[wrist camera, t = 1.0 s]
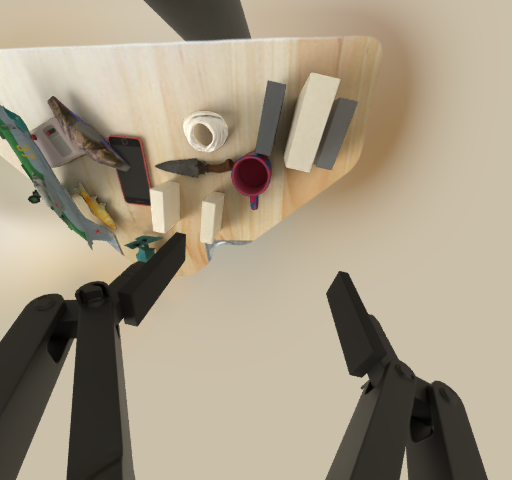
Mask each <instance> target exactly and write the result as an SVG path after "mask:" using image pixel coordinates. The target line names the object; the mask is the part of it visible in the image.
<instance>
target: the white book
mask: <svg viewBox="0 0 512 480" xmlns="http://www.w3.org/2000/svg"><path fill="white" fill-rule="evenodd" d="M339 83H340V79H339V78H334V77H330V76H326V75H322V74H317V73H313V72H311V74H310V75H309V77H308V79H307V81H306V83H305V85H304V87H303V89H302V90H301V92H300V94H299V96H298V98H297V102H296V106H295V110H294V114H293V118H292V122H291V126H290V130H289V134H288V138H287V142H286V146H285V150H284V154H283V155H284V160H285V165H286V167H287V168H291V169H295V170H300V171H304V172H308V173H310V170H311V167H312V164H313V161H314V158H315V155H316V152H317V149H318V146H319V143H320V140H321V137H322V134H323V131H324V128H325V125H326V122H327V119H328V116H329V113H330V110H331V107H332V104H333V101H334V98H335V95H336V92H337V89H338V86H339Z"/></svg>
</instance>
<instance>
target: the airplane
mask: <svg viewBox="0 0 512 480" xmlns="http://www.w3.org/2000/svg"><path fill="white" fill-rule="evenodd" d="M0 136H1V138H2V139H6V140H7V141H8V143H9V144H10V146H11V147H12V149H13V150H14V152H15V153H16V155H17V157H18V158H19V160H20V161H21V163H22V165H21V166H22V167H23V169H24V170H25V171H26V173H27V174H28V176H29V177H30V179H31V180H32V182H33V183H34V187H35V188H36V190H35V191H34V192H33V195H32V196H30V197H29V198H28V200H29V201H30V202H31V203H38V202H40V197H42V199H43V200H44V202H45V203H46V205H47V206H48V207H51V209H52V210H54V211H55V212H56V213H57V215H58V216H59V217H60V218H61V219H62V220H63V221H64V222H65V223H66V224H67V225H68V227H69V228H70V229H71V230H74V231H75V232H76V233H77V234H79V235H80V236H81V237H83V238H84V239H85V240H86V241H88V244H89V246H90V248H91V249H92V244H93V242H92V240H103V241H111V240H112V239H113V238H114V235H115V234H113V233H111V232H109V231H108V230H106V229H104V228H102V227H101V226H99V225H97V224H95V223H94V222H92V221H90V220H88V219H87V218H85V217H84V216H83V214H82V213H81V212H80V211H79V209H78V207H77V206H76V204H75V203H74V201H73V200H72V198H71V196H70V195H69V193H72V192H69V193H68V191H67V190H66V188H65V187H64V188H63V187H62V186H61V184H60V182H59V181H58V179H57V177H56V176H55V174H54V173H53V171H52V169H51V167H50V165H49V164H48V162H47V160H46V159H45V157H44V155H43V153H42V152H41V150H40V148H39V147H38V146H37V144H36V143H35V142H34V140H33V138H32V136H31V134H30V132H29V130H28V128H27V126H26V124H25V123H24V121H23V120H22V119H21V118H20V116H18V115H16V114H15V113H13V112H11V111H9V110H7V109H5V107H4V106H3V107H2V106H1V105H0Z"/></svg>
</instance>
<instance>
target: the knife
mask: <svg viewBox="0 0 512 480" xmlns="http://www.w3.org/2000/svg"><path fill="white" fill-rule="evenodd" d="M233 166H234V163H233V161H232V160H231V159H228V160H226V161H225V162H224V163H222V164H219V165H209V164H207V165H205V162H200V161H197V159H196V158H195V159H188V160H179V161H168V162H165V163H161V164H158V165H156V166H155V167H157V168H159V169H162V170H165V171H168V172H172V173H177V174H181V175H188V176H192V177H196V178H198V175H200V174H205V172H207V173H209V172H216V173H222V172H226V171H231V170H232V168H233Z"/></svg>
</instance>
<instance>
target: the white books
mask: <svg viewBox="0 0 512 480" xmlns="http://www.w3.org/2000/svg"><path fill="white" fill-rule="evenodd" d="M224 196H225V193H220V192H216V191H213V192H212V193H211V194H210V195H209V196H208V197H206V198H205V199H204V200H203V201H202V218H201V236H200V242H204V243H208V244H212V243H213V241H214V240H215V238H216V236H217V235H218V233H219V231H220V230H221V222H222V214H223V205H224ZM150 200H151V211H152V222H153V231H155V232H160V233H164V234H165V233H166V232H167V231H168V230H170V229H171V228H172V227H173V226H174V225H175V224H176V223H177V222H179V221H180V183H177V182H172V181H167V182H164V183H162V184H160V185H158V186H155V187H153V188H151V189H150Z"/></svg>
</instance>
